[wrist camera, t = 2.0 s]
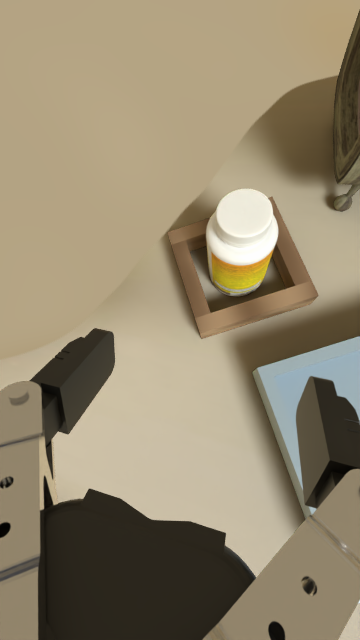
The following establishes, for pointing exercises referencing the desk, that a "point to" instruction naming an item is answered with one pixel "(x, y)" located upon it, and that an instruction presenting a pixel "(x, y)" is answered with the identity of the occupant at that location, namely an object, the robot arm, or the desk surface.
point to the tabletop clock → (348, 121)
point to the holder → (254, 310)
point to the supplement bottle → (241, 241)
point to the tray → (286, 390)
